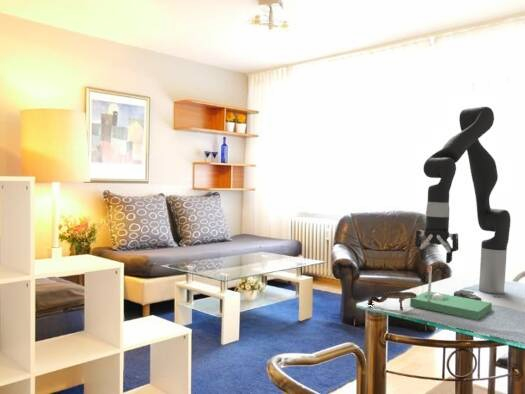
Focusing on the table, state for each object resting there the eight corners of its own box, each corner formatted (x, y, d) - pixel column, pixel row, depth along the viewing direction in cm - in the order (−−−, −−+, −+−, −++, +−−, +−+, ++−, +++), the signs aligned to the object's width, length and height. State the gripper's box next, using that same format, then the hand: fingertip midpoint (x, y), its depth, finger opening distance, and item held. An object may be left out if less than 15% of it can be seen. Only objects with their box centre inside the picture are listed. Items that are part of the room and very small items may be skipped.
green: (427, 297, 174) (427, 291, 174) (491, 310, 160) (491, 302, 160) (410, 305, 162) (410, 298, 162) (477, 319, 148) (478, 311, 147)
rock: (486, 303, 170) (487, 292, 170) (470, 306, 164) (470, 294, 164) (467, 298, 176) (467, 287, 176) (450, 301, 170) (451, 290, 170)
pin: (428, 300, 159) (429, 265, 159) (430, 301, 159) (432, 266, 158) (424, 302, 157) (426, 266, 156) (427, 302, 156) (429, 267, 156)
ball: (433, 294, 167) (444, 293, 165) (434, 305, 166) (446, 305, 164) (429, 293, 164) (440, 292, 162) (430, 305, 163) (442, 304, 161)
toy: (382, 325, 156) (420, 301, 153) (365, 303, 157) (403, 278, 154) (382, 321, 162) (419, 297, 158) (366, 299, 163) (402, 275, 159)
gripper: (462, 216, 162) (460, 262, 162) (421, 213, 171) (419, 257, 172) (455, 217, 156) (452, 265, 157) (413, 214, 165) (411, 259, 166)
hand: (435, 261), depth 164 cm, fingers open, 8 cm apart
